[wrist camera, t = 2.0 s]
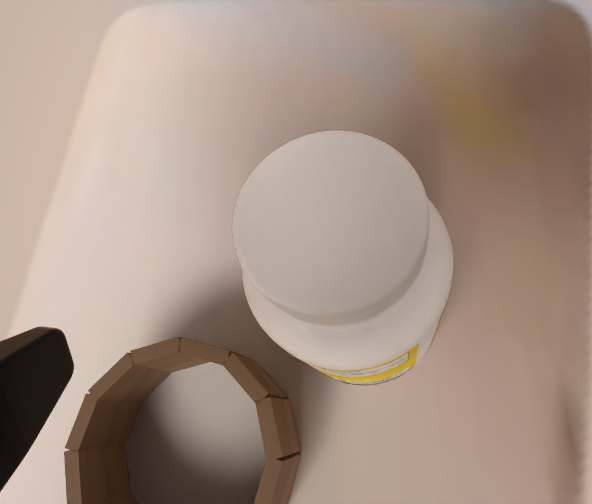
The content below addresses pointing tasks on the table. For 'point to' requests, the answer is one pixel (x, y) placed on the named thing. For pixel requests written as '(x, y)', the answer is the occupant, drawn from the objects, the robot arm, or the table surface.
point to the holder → (124, 406)
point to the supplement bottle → (343, 255)
